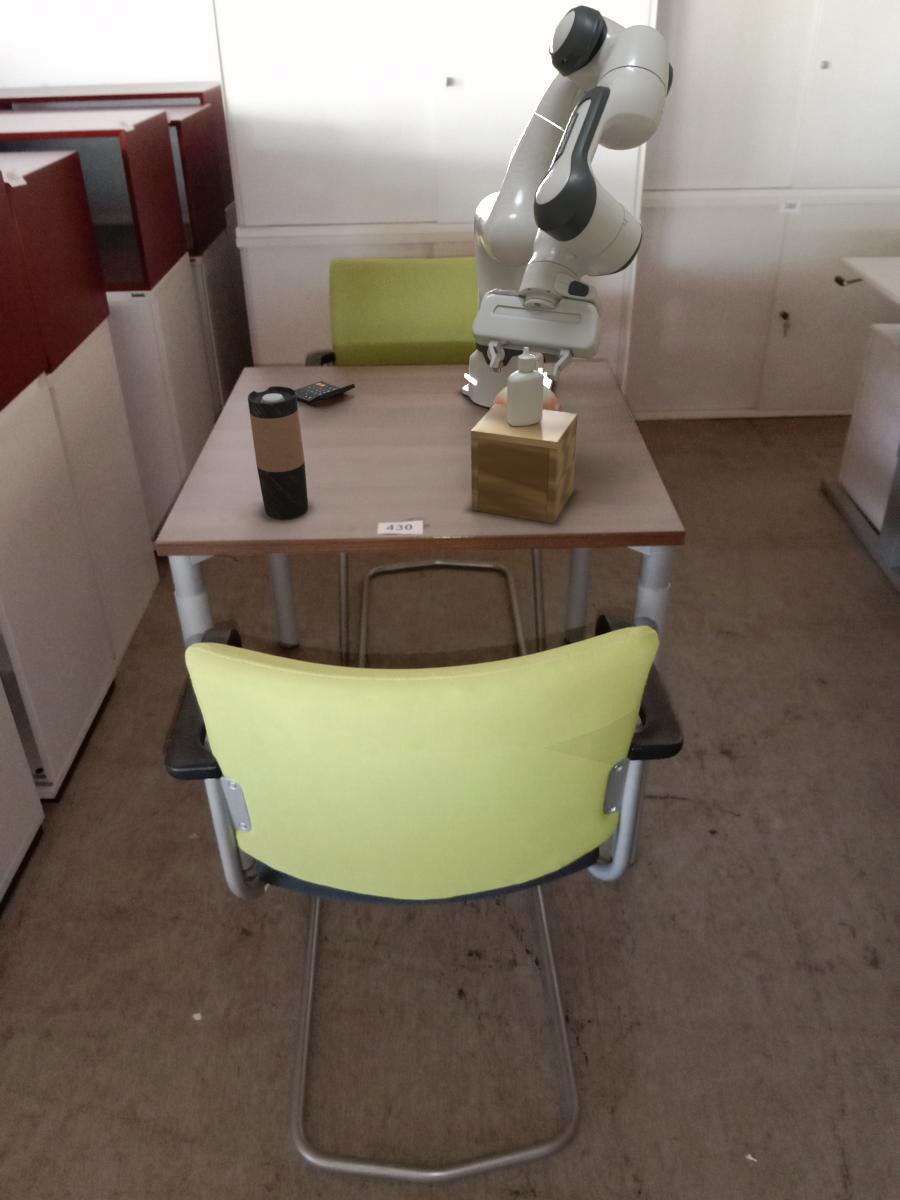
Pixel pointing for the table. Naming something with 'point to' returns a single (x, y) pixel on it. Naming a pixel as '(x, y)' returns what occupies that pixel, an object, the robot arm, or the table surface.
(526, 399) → the eye dropper bottle
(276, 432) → the travel mug
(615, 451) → the table surface
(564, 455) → the plywood crate
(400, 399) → the table surface
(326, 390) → the calculator
